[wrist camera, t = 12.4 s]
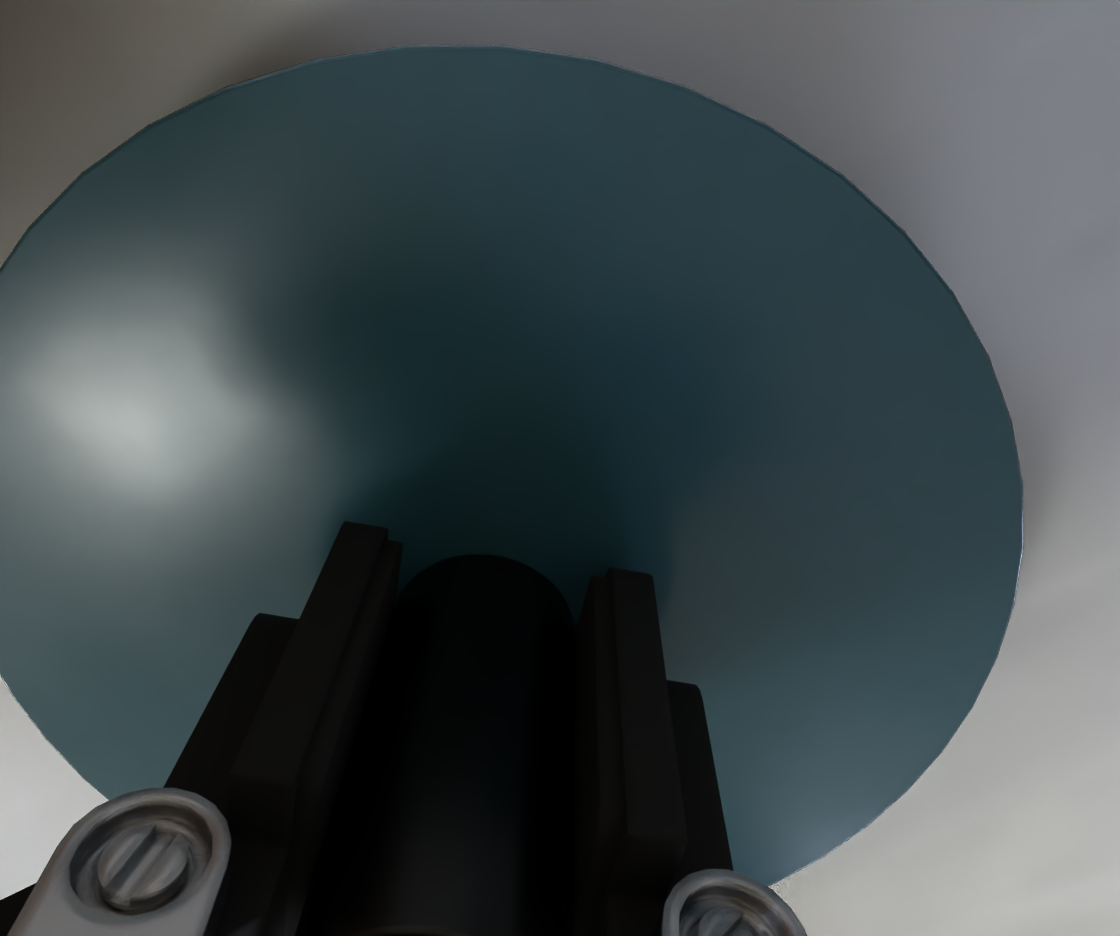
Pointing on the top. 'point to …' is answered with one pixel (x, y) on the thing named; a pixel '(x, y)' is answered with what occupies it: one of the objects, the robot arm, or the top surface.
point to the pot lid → (499, 456)
